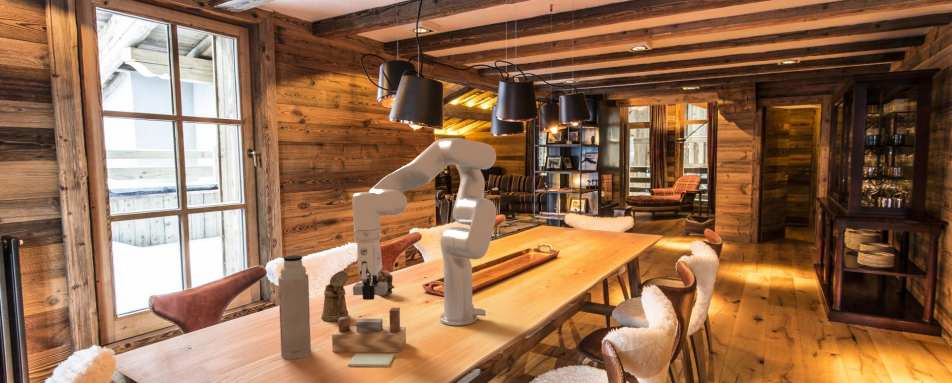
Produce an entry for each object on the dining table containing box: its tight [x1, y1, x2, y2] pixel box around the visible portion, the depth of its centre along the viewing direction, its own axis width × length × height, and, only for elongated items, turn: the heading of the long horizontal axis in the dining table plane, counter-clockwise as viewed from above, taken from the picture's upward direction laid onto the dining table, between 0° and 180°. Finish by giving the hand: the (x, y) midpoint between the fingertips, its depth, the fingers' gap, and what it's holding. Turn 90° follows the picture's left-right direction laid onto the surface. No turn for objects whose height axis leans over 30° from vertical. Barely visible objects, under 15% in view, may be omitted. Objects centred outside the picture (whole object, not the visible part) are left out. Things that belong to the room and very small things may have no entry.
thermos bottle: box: [277, 254, 312, 360], centre depth 144 cm, size 8×8×28 cm
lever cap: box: [352, 282, 388, 296], centre depth 148 cm, size 9×5×3 cm, turn 87°
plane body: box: [331, 307, 407, 353], centre depth 148 cm, size 20×7×11 cm, turn 87°
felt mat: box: [347, 353, 395, 368], centre depth 139 cm, size 11×7×1 cm, turn 87°
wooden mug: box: [321, 271, 349, 322], centre depth 174 cm, size 9×14×18 cm, turn 30°
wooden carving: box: [378, 269, 395, 297], centre depth 204 cm, size 16×5×10 cm, turn 41°
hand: (370, 295), depth 148 cm, fingers closed on lever cap, 4 cm apart
